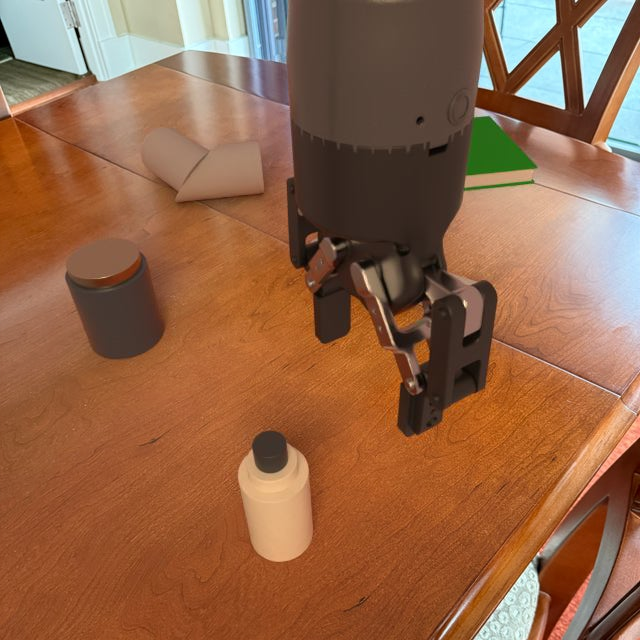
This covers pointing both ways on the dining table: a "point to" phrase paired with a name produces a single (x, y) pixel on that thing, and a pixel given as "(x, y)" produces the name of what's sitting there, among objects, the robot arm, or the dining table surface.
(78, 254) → the slate jar
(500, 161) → the book
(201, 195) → the l-shaped cylinder
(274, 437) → the cream bottle
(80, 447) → the dining table surface
